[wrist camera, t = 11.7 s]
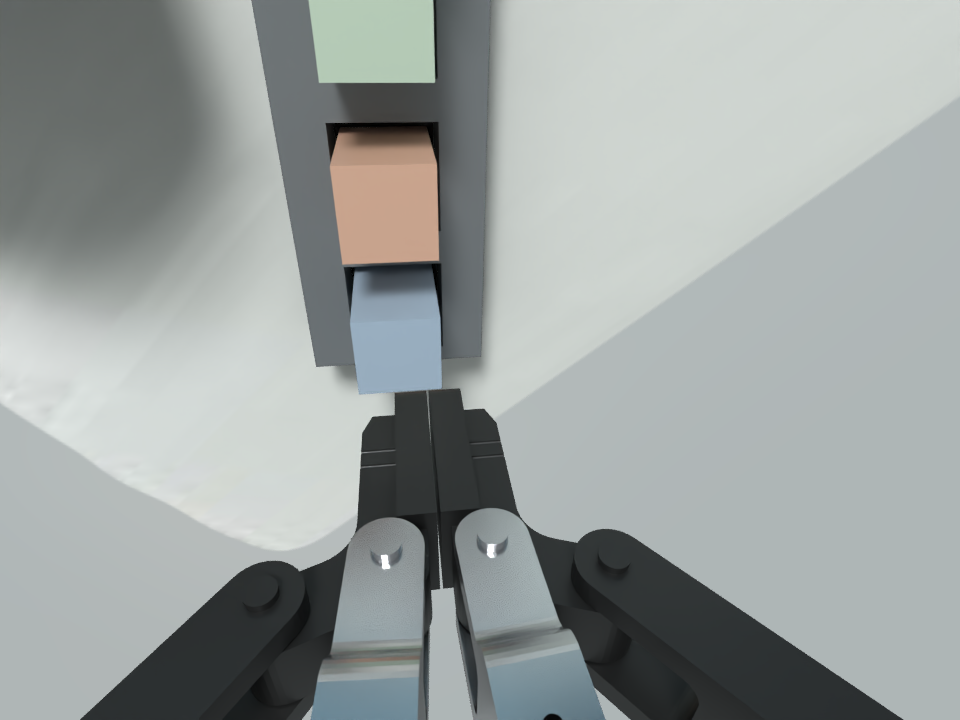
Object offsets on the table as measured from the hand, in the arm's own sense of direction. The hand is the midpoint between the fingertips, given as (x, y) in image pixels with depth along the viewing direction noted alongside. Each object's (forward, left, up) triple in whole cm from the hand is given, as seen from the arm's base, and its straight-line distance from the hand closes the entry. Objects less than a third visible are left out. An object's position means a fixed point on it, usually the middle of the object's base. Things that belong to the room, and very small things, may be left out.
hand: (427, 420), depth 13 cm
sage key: (+1, -7, -21) cm, 22 cm away
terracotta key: (+1, 0, -21) cm, 21 cm away
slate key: (+1, +8, -21) cm, 23 cm away
